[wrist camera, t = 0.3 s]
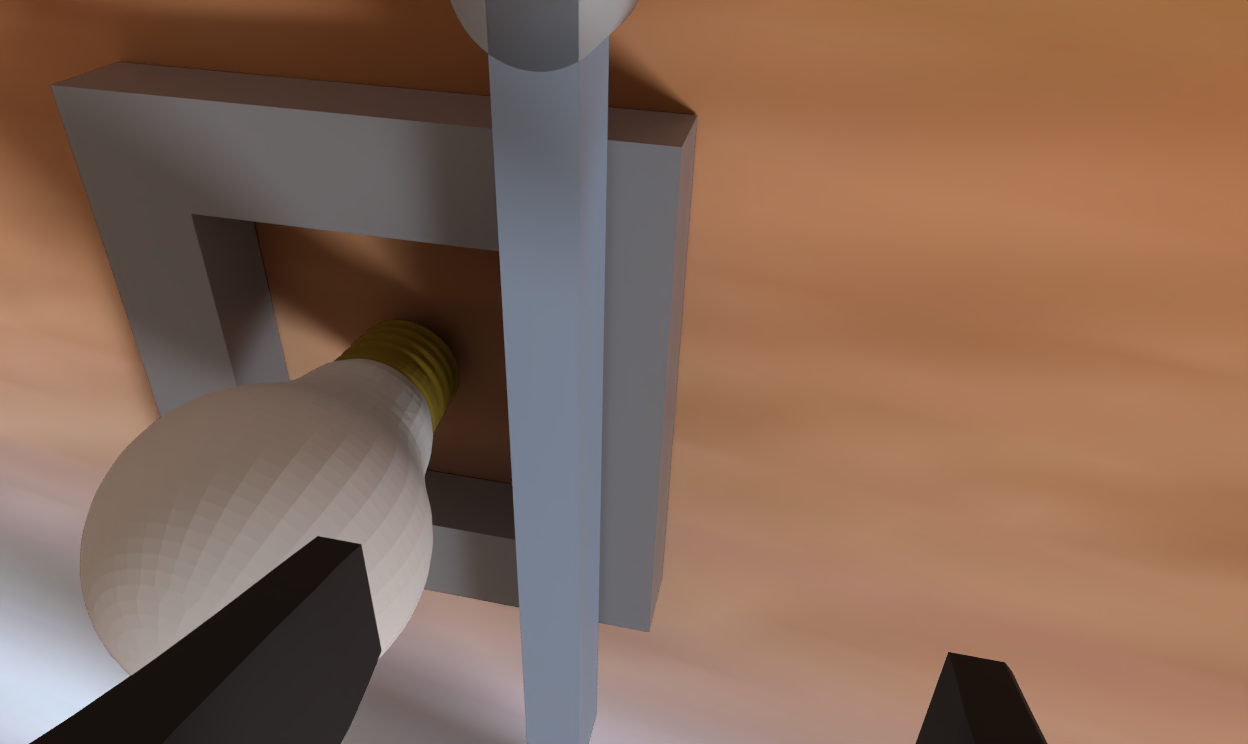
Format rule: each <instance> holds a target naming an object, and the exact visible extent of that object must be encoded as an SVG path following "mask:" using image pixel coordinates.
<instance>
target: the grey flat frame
mask: <svg viewBox="0 0 1248 744" xmlns="http://www.w3.org/2000/svg"><path fill="white" fill-rule="evenodd" d="M50 86H51V89H52V92H53V95H54V98H55V101H56V104H57V107H58V110H59V113H60V116H61V119H62V122H63V125H64V128H65V131H66V134H67V137H68V140H69V143H70V146H71V149H72V152H73V155H74V158H75V161H76V164H77V167H78V170H79V173H80V176H81V179H82V182H83V185H84V188H85V191H86V194H87V197H88V200H89V203H90V206H91V209H92V212H93V215H94V218H95V221H96V224H97V227H98V230H99V233H100V236H101V239H102V242H103V245H104V248H105V251H106V254H107V257H108V260H109V263H110V266H111V269H112V272H113V275H114V278H115V281H116V284H117V287H118V290H119V293H120V296H121V299H122V302H123V305H124V308H125V311H126V314H127V317H128V320H129V323H130V326H131V329H132V332H133V335H134V338H135V341H136V344H137V347H138V350H139V353H140V356H141V359H142V362H143V365H144V368H145V371H146V374H147V377H148V380H149V383H150V386H151V389H152V392H153V395H154V398H155V401H156V404H157V407H158V410H159V413H160V416H161V417H163V416H164V415H166V414H167V413H169V412H171V411H172V410H174V409H176V408H178V407H180V406H182V405H184V404H186V403H188V402H190V401H192V400H194V399H196V398H198V397H201V396H203V395H206V394H209V393H212V392H216V391H219V390H223V389H227V388H230V387H235V386H240V385H247V384H258V383H277V382H289V377H288V372H287V368H286V364H285V359H284V355H283V350H282V346H281V341H280V337H279V332H278V328H277V323H276V319H275V315H274V310H273V306H272V301H271V297H270V292H269V288H268V283H267V279H266V275H265V270H264V266H263V261H262V257H261V252H260V248H259V243H258V239H257V235H256V230H255V226H254V222H262V223H270V224H278V225H287V226H295V227H303V228H311V229H319V230H327V231H336V232H344V233H352V234H360V235H368V236H376V237H384V238H393V239H401V240H409V241H417V242H425V243H433V244H442V245H450V246H458V247H466V248H474V249H482V250H491V251H499V238H498V221H497V203H496V185H495V168H494V150H493V132H492V114H491V97H490V96H482V95H472V94H461V93H450V92H439V91H428V90H417V89H406V88H396V87H385V86H374V85H363V84H352V83H341V82H330V81H320V80H309V79H298V78H287V77H276V76H265V75H254V74H243V73H233V72H222V71H211V70H200V69H189V68H178V67H167V66H157V65H146V64H135V63H124V62H117V63H114V64H111V65H108V66H105V67H102V68H99V69H96V70H93V71H90V72H87V73H85V74H82V75H79V76H76V77H73V78H70V79H67V80H64V81H61V82H58V83H55V84H52V85H50ZM696 129H697V115H689V114H678V113H667V112H656V111H645V110H635V109H624V108H613V107H608V131H607V186H606V240H605V295H604V349H603V403H602V458H601V512H600V566H599V621H598V623H603V624H608V625H614V626H619V627H624V628H629V629H634V630H640V631H645V632H649V631H650V627H651V622H652V618H653V614H654V610H655V606H656V601H657V597H658V593H659V589H660V585H661V581H662V575H663V562H664V549H665V536H666V523H667V510H668V496H669V483H670V470H671V457H672V444H673V431H674V418H675V405H676V391H677V378H678V365H679V352H680V339H681V326H682V313H683V299H684V286H685V273H686V260H687V247H688V234H689V221H690V207H691V194H692V181H693V168H694V155H695V142H696ZM424 479H425V485H426V490H427V495H428V499H429V503H430V507H431V513H432V529H433V549H432V555H431V561H430V567H429V573H428V577H427V580H426V584H425V586H424V589H426V590H431V591H436V592H442V593H447V594H452V595H457V596H462V597H468V598H473V599H478V600H483V601H488V602H494V603H499V604H504V605H509V606H515V607H519V593H518V575H517V558H516V540H515V522H514V504H513V487H512V484H506V483H500V482H494V481H488V480H482V479H476V478H470V477H464V476H458V475H452V474H447V473H441V472H435V471H429V470H426V473H425V477H424Z"/></svg>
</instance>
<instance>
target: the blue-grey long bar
mask: <svg viewBox="0 0 1248 744" xmlns="http://www.w3.org/2000/svg"><path fill="white" fill-rule="evenodd" d="M450 1H451V4H452V7H453V9H454V11H455V13H456V15H457V17H458V19H459V21H460V23H461V24H462V26H463V27H464V29H465V31H466V32H467V33H468V34H469V36H470V37H471V38H472V39H473V40H474V41H475V42H476V43H477V44H478V45H479V46H480V47H481V48H482V49H483V50H484V51H485V52H487V53H488V61H489V79H490V97H491V114H492V132H493V150H494V168H495V185H496V203H497V221H498V238H499V256H500V274H501V292H502V309H503V327H504V345H505V363H506V380H507V398H508V416H509V434H510V451H511V469H512V487H513V504H514V522H515V540H516V558H517V575H518V593H519V611H520V629H521V646H522V664H523V682H524V700H525V717H526V735H527V744H589V741H590V737H591V733H592V730H593V726H594V722H595V719H596V715H597V675H598V621H599V566H600V512H601V458H602V403H603V349H604V295H605V240H606V186H607V131H608V77H609V35H610V34H611V33H612V32H613V31H614V30H615V29H616V28H618V27H619V26H620V25H621V24H622V23H623V22H624V21H625V20H626V18H627V17H628V16H629V15H630V14H631V12H632V11H633V9H634V8H635V6H636V4H637V2H638V0H450Z"/></svg>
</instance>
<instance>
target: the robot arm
mask: <svg viewBox="0 0 1248 744" xmlns="http://www.w3.org/2000/svg"><path fill="white" fill-rule="evenodd" d="M381 651H382V650H381V644H380V639H379V634H378V629H377V623H376V618H375V613H374V608H373V602H372V597H371V592H370V587H369V581H368V576H367V571H366V566H365V560H364V555H363V550H362V545H361V544H358V543H353V542H348V541H342V540H337V539H331V538H326V537H320V536H317V537H316V538H314V539H313V540H312V541H310V542H309V543H308V544H306V545H305V546H304V547H302V548H301V549H300V550H298V551H297V552H296V553H294V554H293V555H292V556H290V557H289V558H288V559H286V560H285V561H284V562H282V563H281V564H280V565H278V566H277V567H276V568H274V569H273V570H272V571H271V572H269V573H268V574H267V575H265V576H264V577H263V578H261V579H260V580H259V581H258V582H256V583H255V584H254V585H252V586H251V587H250V588H248V589H247V590H246V591H245V592H243V593H242V594H241V595H239V596H238V597H237V598H235V599H234V600H233V601H232V602H230V603H229V604H228V605H226V606H225V607H224V608H222V609H221V610H220V611H218V612H217V613H216V614H214V615H213V616H212V617H211V618H209V619H208V620H206V621H205V622H204V623H202V624H201V625H200V626H198V627H197V628H196V629H194V630H193V631H192V632H190V633H189V634H188V635H186V636H185V637H184V638H182V639H181V640H179V641H178V642H177V643H175V644H174V645H173V646H171V647H170V648H169V649H167V650H166V651H165V652H163V653H162V654H161V655H159V656H158V657H157V658H155V659H154V660H152V661H151V662H150V663H148V664H147V665H145V666H144V667H143V668H141V669H140V670H138V671H137V672H135V673H134V674H133V675H131V676H130V677H128V678H127V679H125V680H124V681H122V682H121V683H119V684H118V685H117V686H115V687H114V688H112V689H111V690H109V691H108V692H106V693H105V694H103V695H102V696H101V697H99V698H98V699H96V700H95V701H93V702H92V703H90V704H89V705H87V706H86V707H85V708H83V709H82V710H80V711H79V712H77V713H76V714H74V715H73V716H71V717H70V718H68V719H67V720H65V721H64V722H62V723H61V724H59V725H58V726H56V727H55V728H53V729H51V730H50V731H48V732H47V733H45V734H44V735H42V736H41V737H39V738H37V739H36V740H34V741H33V742H31V743H29V744H341V742H342V740H343V738H344V736H345V735H346V733H347V731H348V729H349V727H350V725H351V723H352V720H353V718H354V716H355V714H356V711H357V709H358V707H359V704H360V702H361V700H362V698H363V695H364V693H365V691H366V688H367V686H368V683H369V681H370V678H371V676H372V673H373V671H374V668H375V666H376V664H377V661H378V659H379V656H380V654H381ZM916 744H1047V742H1046V740H1045V738H1044V736H1043V734H1042V732H1041V730H1040V728H1039V726H1038V724H1037V722H1036V720H1035V718H1034V716H1033V714H1032V712H1031V710H1030V708H1029V706H1028V704H1027V702H1026V700H1025V698H1024V696H1023V694H1022V691H1021V689H1020V687H1019V685H1018V683H1017V681H1016V679H1015V677H1014V675H1013V673H1012V671H1011V670H1010V668H1009V667H1008V666H1007V665H1006V663H1005V662H1000V661H994V660H989V659H983V658H978V657H972V656H967V655H961V654H956V653H951V652H948V655H947V658H946V660H945V663H944V666H943V669H942V672H941V674H940V677H939V680H938V683H937V686H936V688H935V691H934V694H933V697H932V700H931V702H930V705H929V708H928V711H927V714H926V716H925V719H924V722H923V725H922V728H921V730H920V733H919V736H918V739H917V742H916Z"/></svg>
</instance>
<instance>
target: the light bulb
mask: <svg viewBox="0 0 1248 744" xmlns="http://www.w3.org/2000/svg"><path fill="white" fill-rule="evenodd" d="M459 380H460V379H459V368H458V364H457V362H456V359H455V357H454V355H453V353H452V351H451V350H450V349H449V347H448V346H447V345H446V343H445V342H444V341H443V340H442V339H441V338H440V337H438V336H437V335H436V334H435V333H433V332H432V331H430V330H429V329H427V328H425V327H423V326H421V325H419V324H416V323H413V322H410V321H405V320H387V321H383V322H380V323H378V324H376V325H374V326H372V327H371V328H369V329H368V330H367V331H366V333H364V334H363V335H362V336H361V337H360V338H359V339H358V340H357V341H355V342H354V343H353V344H352V345H351V347H349V348H348V349H347V350H345V352H344V353H343V354H342V355H341V356H340V357H338V358H337V359H336V360H335V361H334V362H331V363H327V364H325V365H323V366H320V367H318V368H316V369H315V370H313V371H311V372H309V373H307V374H306V375H304V376H302V377H300V378H298V379H296V380H293V381H289V382H277V383H258V384H247V385H240V386H235V387H230V388H227V389H223V390H219V391H216V392H212V393H209V394H206V395H203V396H201V397H198V398H196V399H194V400H192V401H190V402H188V403H186V404H184V405H182V406H180V407H178V408H176V409H174V410H172V411H171V412H169V413H167V414H166V415H164V416H163V417H161V418H159V419H158V420H157V421H156V422H154V423H153V424H152V425H151V426H149V427H148V428H147V429H146V430H145V431H144V432H142V433H141V434H140V435H139V436H138V437H137V438H136V439H135V440H134V441H132V442H131V443H130V444H129V445H128V446H127V447H126V449H125V450H124V451H123V452H122V453H121V454H120V456H119V457H118V458H117V460H116V461H115V463H114V464H113V465H112V467H111V468H110V470H109V472H108V473H107V475H106V476H105V478H104V479H103V481H102V483H101V484H100V486H99V488H98V490H97V492H96V494H95V496H94V499H93V501H92V504H91V507H90V510H89V513H88V516H87V519H86V523H85V526H84V530H83V535H82V541H81V552H80V577H81V586H82V591H83V596H84V600H85V605H86V608H87V611H88V614H89V616H90V619H91V621H92V624H93V626H94V629H95V630H96V632H97V634H98V636H99V638H100V639H101V641H102V643H103V645H104V646H105V648H106V649H107V650H108V652H109V653H110V654H111V656H112V657H113V658H114V659H115V660H116V661H117V662H118V664H119V665H120V666H121V667H122V668H123V669H124V670H125V671H126V672H127V673H128V674H129V675H130V676H131V675H133V674H134V673H135V672H137V671H138V670H140V669H141V668H143V667H144V666H145V665H147V664H148V663H150V662H151V661H152V660H154V659H155V658H157V657H158V656H159V655H161V654H162V653H163V652H165V651H166V650H167V649H169V648H170V647H171V646H173V645H174V644H175V643H177V642H178V641H179V640H181V639H182V638H184V637H185V636H186V635H188V634H189V633H190V632H192V631H193V630H194V629H196V628H197V627H198V626H200V625H201V624H202V623H204V622H205V621H206V620H208V619H209V618H211V617H212V616H213V615H214V614H216V613H217V612H218V611H220V610H221V609H222V608H224V607H225V606H226V605H228V604H229V603H230V602H232V601H233V600H234V599H235V598H237V597H238V596H239V595H241V594H242V593H243V592H245V591H246V590H247V589H248V588H250V587H251V586H252V585H254V584H255V583H256V582H258V581H259V580H260V579H261V578H263V577H264V576H265V575H267V574H268V573H269V572H271V571H272V570H273V569H274V568H276V567H277V566H278V565H280V564H281V563H282V562H284V561H285V560H286V559H288V558H289V557H290V556H292V555H293V554H294V553H296V552H297V551H298V550H300V549H301V548H302V547H304V546H305V545H306V544H308V543H309V542H310V541H312V540H313V539H314V538H316V537H317V536H320V537H326V538H331V539H337V540H342V541H348V542H353V543H358V544H361V545H362V550H363V555H364V560H365V566H366V571H367V576H368V581H369V587H370V592H371V597H372V602H373V608H374V613H375V618H376V623H377V629H378V634H379V639H380V644H381V650H382V651H381V654H380V656H379V658H380V657H381V656H382V655H383V654H384V653H385V652H386V651H387V650H388V649H389V647H390V646H391V645H392V644H393V642H394V641H395V640H396V638H397V637H398V636H399V635H400V633H401V632H402V630H403V629H404V628H405V626H406V625H407V623H408V621H409V620H410V618H411V616H412V614H413V612H414V610H415V608H416V606H417V604H418V601H419V599H420V597H421V594H422V592H423V589H424V586H425V584H426V580H427V577H428V573H429V567H430V561H431V555H432V549H433V529H432V513H431V507H430V503H429V499H428V495H427V490H426V485H425V479H424V477H425V473H426V470H427V467H428V464H429V460H430V456H431V450H432V442H433V433H434V431H435V429H436V427H437V425H438V423H439V422H440V420H441V419H442V416H443V415H444V413H445V411H446V410H447V408H448V406H449V404H450V403H451V401H452V399H453V397H454V396H455V394H456V392H457V389H458V386H459Z"/></svg>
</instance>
